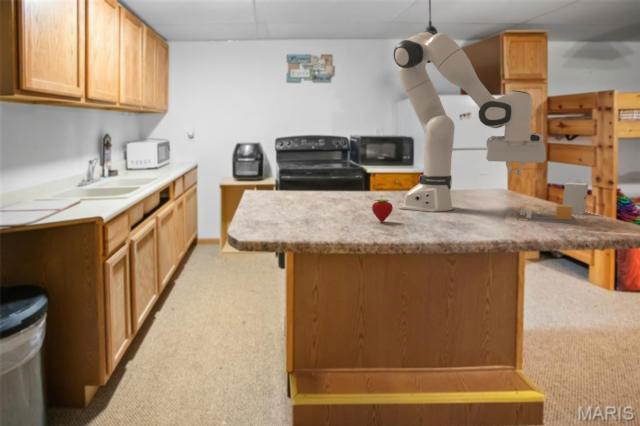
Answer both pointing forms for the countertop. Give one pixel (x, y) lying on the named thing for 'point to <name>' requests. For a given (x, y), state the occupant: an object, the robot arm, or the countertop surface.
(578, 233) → the countertop surface
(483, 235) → the countertop surface
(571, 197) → the supplement box
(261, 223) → the countertop surface
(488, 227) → the countertop surface
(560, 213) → the orange block
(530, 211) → the tagged breaker
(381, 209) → the strawberry
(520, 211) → the untagged breaker
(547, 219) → the breaker panel
